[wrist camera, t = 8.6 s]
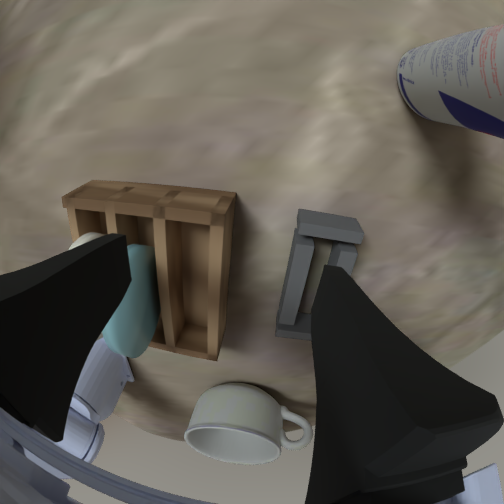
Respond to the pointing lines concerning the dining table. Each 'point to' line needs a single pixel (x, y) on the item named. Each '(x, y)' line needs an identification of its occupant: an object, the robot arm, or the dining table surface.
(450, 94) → the energy drink
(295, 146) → the dining table surface
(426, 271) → the dining table surface
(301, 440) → the teacup
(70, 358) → the robot arm
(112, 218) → the walnut rack
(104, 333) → the teal plate
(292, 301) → the rubber holder
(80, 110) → the dining table surface
